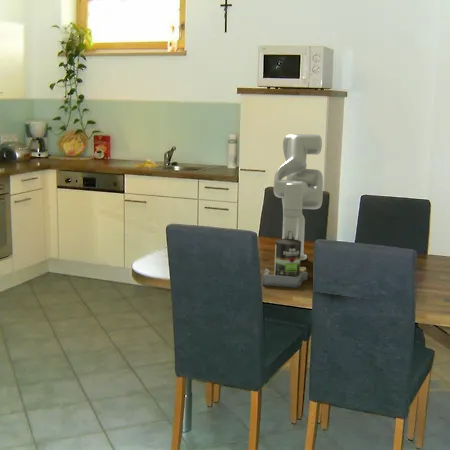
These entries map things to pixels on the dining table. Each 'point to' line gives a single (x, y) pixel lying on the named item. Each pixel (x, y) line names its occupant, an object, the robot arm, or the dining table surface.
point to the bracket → (283, 280)
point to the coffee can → (287, 257)
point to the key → (302, 269)
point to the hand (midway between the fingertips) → (291, 257)
